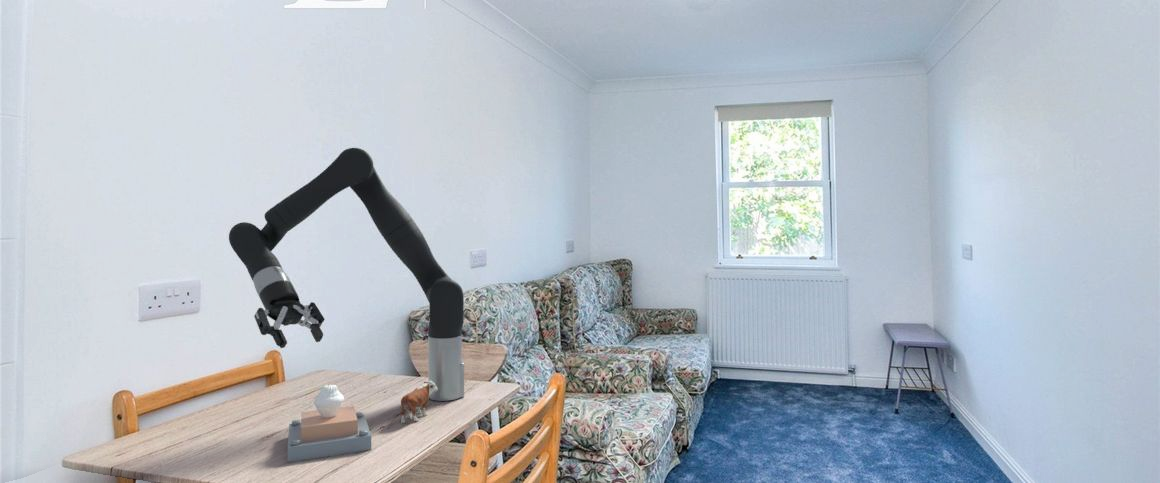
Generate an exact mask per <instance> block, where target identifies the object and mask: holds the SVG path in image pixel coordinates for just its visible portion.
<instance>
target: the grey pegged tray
mask: <svg viewBox="0 0 1160 483" xmlns="http://www.w3.org/2000/svg"><path fill="white" fill-rule="evenodd" d="M300 418H301V420H299V419H296V420H291V423H289V425H288V439H287V463H293V462H300V461H306V460H314V459H320V458H326V457H332V456H339V455H344V454H345V455H346V454H351V453H359V452H364V451H371V450H372V433H371V431H370V428H369V424H368V421H367V418H366V416H365V414H364V412H359V411H358V412H356V408H355V406H354V405H352V406H351V405H350V406H342V407H341V408H340V410H339V412H338V414H337V416H335V417H331V418H322V417H321V415H320V414H319V412H318V411H317V410H310V411H301V416H300Z"/></svg>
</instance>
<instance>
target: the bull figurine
mask: <svg viewBox="0 0 1160 483" xmlns="http://www.w3.org/2000/svg"><path fill="white" fill-rule="evenodd" d="M433 391H438V388H437V387H436V385H435V383H433V382H432V381H431V380H429V381H428V380H427V381H423V383H421V384H420V385H419V386H418V387H416V388H415V389H413V391H411V392H409V393H407V394H405V395H403V396H402V398H400V399H401V400H400V406H401V412H400V417H401V420H400V423H401V424H406V420H405V416H406V413H407V414H408V415H409V418H410V420H413V422H419V421H420V420H419V418H418V417H417V415H421V414H422V416H424V417H427V416H428V414H427V412H426V411H427V409H428V408H427V406H428V403H429V395H430V394H432V392H433ZM421 408H422V410H421ZM416 411H417V412H416ZM416 413H417V414H416Z"/></svg>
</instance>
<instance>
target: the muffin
mask: <svg viewBox="0 0 1160 483" xmlns="http://www.w3.org/2000/svg"><path fill="white" fill-rule="evenodd" d="M344 401H345V397H344V394H342V393H341V392H340V391H339V388H338V386H337V385H335V384H326V385H323V386H322V387H321V388H320V391H319V393H318V395H317V396H315V398H314V400H313V405H314V406H315V409H316V411H318V412H319V414H320V415H321V417H322V418H331V417H335V416H337V414H338V412H339V410H340V408H342V407H343V404H344Z"/></svg>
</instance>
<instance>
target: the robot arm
mask: <svg viewBox="0 0 1160 483" xmlns="http://www.w3.org/2000/svg"><path fill="white" fill-rule="evenodd" d="M349 187H350V189H351V190H352V191H353V193H355V195H356V196H357V197H358V198H359V199H360V201H361V202H362V203H363V205H364V207H365V208H366V211H367V212H368V214H369V216H370V218H371V220H372V221H373V223H374V225H375V227H376V228H377V230H378V232H379V233H380V235H381V236H382V237H383V239H384V241H385V242H386V244H387V245H388V246H389V247H390V249H391V251H392V252H393V253H394V254H395V255H396V256H397V257H398V259H399V260H400V261H401V262H402V263H403V265H405V267H406V268H408V269H409V271H410V272H411V273H412V275H413V276H414V278H415V279H416V281H417V282H418V284H419V287H421V289H422V291H423V293H424V295H425V297H426V299H427V301H428V303H429V319H428V320H429V322H428V327H427V328H428V329H427V330H428V331H427V332H428V334H427V336H428V338H427V339H428V341H427V342H428V345H427V346H428V347H427V348H428V349H427V352H428V359H427V360H428V363H427V365H428V374H427V375H428V376H427V378H428V380H427V382H428V381H429V380H431V381H432V382H433V383H435V385H436V387H437V388H438V391H433V392H432V394H430V395H429V399H430V400H432V401H437V402H442V401H443V402H444V401H445V402H446V401H447V402H448V401H454V400H458V399H460V398H465V363H464V362H463V325H464V304H465V303H464V291H463V289H462V287H461V285H460V284H459V283H458V282H457V281H455V280H453V279H452V278H451V277H450V276H449V275H448V274H447V273H446V272H445V270H444V269H443V268H442V266H441V265H440V264H439V262H438V261H437V259H436V258H435V257H434V255H433V253H432V251H431V247H430V246H429V244H428V241H427V240H426V238H425V236H424V234H423V233H422V231H421V229H420V228H419V226H418V225H417V223H416V221H414V219H413V218H412V216H411V215H410V214H409V212H408V211H407V210H406V209H405V208H404V206H403V205H402V204H401V203H400V202H399V201H398V200H397V199H396V198H395V196H394V195H392V194H391V192H390V191H389V190H388V189H387V187H386V185H385V184H384V183H383V181H382V179H381V178H380V176H379V174H378V172H377V170H376V168H375V166H374V161H373V158H372V156H371V155H370V154H369V152H367V151H366V150H364V149H362V148H360V147H350V148H346V149H344V150H343V151H342V152H341V153H339V155H338V156H337V158H336V159H334V160H333V162H332V163H331V164H329V165H328V166H327V167H326V168H325V169H324V170H323V171H322V172H321V173H320V174H318V175H317V176H316V177H315V178H313V179H312V180H310V181H309V182H308V183H306V184H305V185H303V186H302V187H300V188H298V189H297V190H296V191H294V192H293V193H291V194H289V195H288V196H286V197H285V198H283V199H282V200H281V201H279V202H278V203H276V204H275V205H274V206H272V207H271V208H270V209H268V210H267V211H266V212H265V213H264V220H265V221H266V223H265V225H264V226H263V227H262V228H261V229H260V228H259V227H258V226H256V225H254V224H253V223H251V222H246V221H244V222H243V221H242V222H239V223H236V224H235V225H234V226H232V227H231V228H230V231H229V234H228V242H229V245H230V247H231V248H232V250H233V251H234V253H235V254H236V255H237V257H238V258H239V260H240V261H241V263H243V264H244V266H245V268H246V270H247V272H248V274H249V277H250V279H251V280H252V282H253V286H254V288H255V290H256V293H257V295H258V297H259V300H260V302H261V303H262V305H263V307H264V308H262V307H259V308H257V310H256V312H255V314H254V315H253V318H254V319H255V322H256V325H257V327H258V329H259V332H260V335H262V336H266V335H270V336H271V337H272V338H273V340H274V342H275V344H276V346H277V347H279V348H280V349H283V348H286V345H287V344H288V341H287V339H286V337H285V334H284V332H283V330H282V329H281V328H280V327H281V325H283V327H286V326H289V325H299V326H301V327H306V328H307V329H309V331H310V333H311V335H312V337H313V339H314V340H315V343H320V342H321V341H322V339H323V337H324V333H323V331H322V328H321V326H322V325H323V323H324V321H325V318H324V316H323V314H322V312H321V310H320V309H319V307H318V306H317V305H316V303H315V302H312V301H311V302H310V303H309V304H307V305H304V304H302V303H301V301H300V296H299V295H298V293H297V291H296V289H295V287H294V285H293V283H292V281H291V280H290V277H289V276H288V275H287V273H286V272H285V270H284V269H283V267H282V265H281V263H280V261H279V259H278V258H277V257H276V255H275V254H274V253H273V252H272V251H273V250H274V249H275V248H276V247H277V245H279V243H280V242H281V241H282V240H283V238H284V237H285V236H286V234H287V233H288V232H290V231H291V230H292V229H294V228H295V227H297V226H298V225H299V224H301V223H302V222H303V221H305V220H306V219H307V218H309V217H310V216H311V215H312V214H313V213H315V212H316V211H317V210H318V209H319V208H320V207H322V206H323V205H324V204H325V203H326V202H327V201H329V200H330V199H331V198H333V197H334V196H336V195H337V194H339V193H340V192H342V191H344V190H346V189H348V188H349ZM268 318H270V319H271V320H273V321H274V323H273V325H271V324H270V322H269V319H268ZM302 318H304V319H302Z"/></svg>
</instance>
